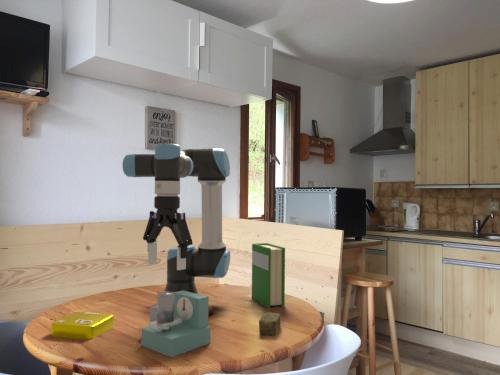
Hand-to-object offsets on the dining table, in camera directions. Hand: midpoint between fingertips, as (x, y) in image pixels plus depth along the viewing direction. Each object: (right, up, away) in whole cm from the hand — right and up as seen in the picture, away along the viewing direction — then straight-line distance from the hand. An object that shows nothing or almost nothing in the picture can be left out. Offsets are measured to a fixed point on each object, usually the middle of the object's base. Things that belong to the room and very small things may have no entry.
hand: (166, 266), depth 124 cm
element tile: (-30, -24, +13) cm, 41 cm away
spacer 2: (0, -16, -2) cm, 16 cm away
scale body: (+3, -24, +1) cm, 24 cm away
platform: (0, -19, -2) cm, 19 cm away
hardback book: (+32, -25, +53) cm, 67 cm away
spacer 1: (-6, -24, +13) cm, 28 cm away
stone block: (+32, -25, +15) cm, 43 cm away
